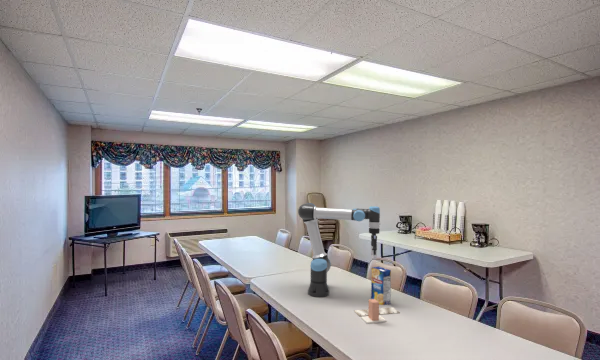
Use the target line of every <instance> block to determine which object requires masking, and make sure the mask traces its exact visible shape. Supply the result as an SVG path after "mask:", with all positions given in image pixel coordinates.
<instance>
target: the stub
mask: <svg viewBox="0 0 600 360" xmlns="http://www.w3.org/2000/svg"><path fill="white" fill-rule="evenodd" d="M379 308H380V304H379V302H378V301H377V300H376V299H371V298H370V299H368V316H362V317H360V319H361V320H362V321H363V322H364V323H365V324H366V325H367V324H377V323H386V322H387V320H386V318H384V317H383V315H379Z"/></svg>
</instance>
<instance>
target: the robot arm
mask: <svg viewBox="0 0 600 360" xmlns="http://www.w3.org/2000/svg"><path fill="white" fill-rule="evenodd" d="M297 214H298V216H299V217H300V218H301V220H302V221H303V223H304V224H305V225H306V230H307V234H308V238H309V242H310V246H311V251H312V253H313V255H312V257H311V258H312V260H311V262H310V283H309V286H308V289H307V294H308V295H309V296H311V297H315V298H324V297H327V296H329V295H330V288H329V286H328V272H329V271H330V269H331V264H332V263H331V260H330V259H329V256H328V253H326V252H325V248H324V244H323V241H322V237H321V233H320V228H319V224H318V220H319V219H324V220H327V219H328V220H341V221H354V222H355V221H356V222H362V221H364V220H368V227H369V228H368V233H369V234H371V235H370V240H371V241H370V245H371V246H370V255H371V256H372V260H377V257H378V256H377V252H378V251H377V250H378V245H377V244H378V242H377V241H378V234H380V225H381V221H380V218H381V209H380V207H379V206H372V205H371V206H369V208H353V209H349V208H347V209H346V208H332V207H331V208H329V207H317V206H316V205H315V204H314V203H312V202H306V203H303V204H301V205H300V206H299V207H298V209H297Z"/></svg>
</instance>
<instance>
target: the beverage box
mask: <svg viewBox="0 0 600 360" xmlns="http://www.w3.org/2000/svg"><path fill="white" fill-rule="evenodd" d="M391 281H392V271H391V269H390V268H389V269H388V268H387V267H383V266H379V265H378V266H374V267H371V282H370V284H371V286H370V287H371V288H370V289H371V290H370V291H371V294H370V295H371V298H370V299H376V300H377V301H378V302H379V305H380V306H388V305H391V304H392V303H391V301H392V297H391V296H392V294H391V291H392V289H391V288H392V287H391V286H392V284H391V283H392V282H391Z"/></svg>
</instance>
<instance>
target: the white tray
mask: <svg viewBox="0 0 600 360" xmlns="http://www.w3.org/2000/svg"><path fill="white" fill-rule="evenodd" d="M353 312H354V313H355V314H356V315H357V316H358V317H360V318H361V317H365V316H368V309H356V310H353ZM400 313H401V312H400V311H399V310H398V309H396V308H395V307H393V306H391V307H381V308H380V307H379V315H381V316H383V315H394V314H400Z"/></svg>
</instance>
